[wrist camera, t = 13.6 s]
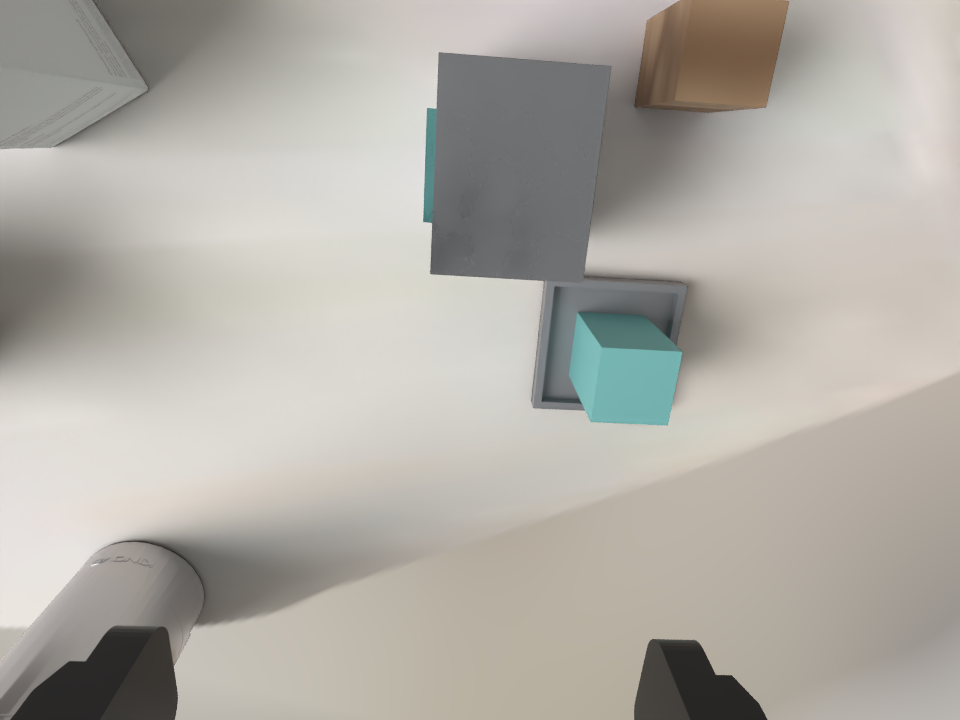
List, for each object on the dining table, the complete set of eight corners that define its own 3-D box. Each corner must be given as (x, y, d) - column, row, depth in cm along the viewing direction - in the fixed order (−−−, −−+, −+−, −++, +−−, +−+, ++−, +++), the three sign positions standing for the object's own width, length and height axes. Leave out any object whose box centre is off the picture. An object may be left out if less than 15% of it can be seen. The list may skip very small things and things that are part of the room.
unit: (552, 243, 37) (589, 283, 27) (429, 235, 37) (419, 273, 27) (569, 87, 34) (618, 66, 24) (435, 77, 34) (426, 51, 24)
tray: (657, 406, 42) (662, 414, 41) (531, 400, 41) (533, 408, 40) (681, 282, 39) (687, 286, 38) (544, 274, 38) (547, 278, 37)
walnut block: (708, 112, 35) (766, 107, 29) (634, 107, 35) (675, 100, 28) (725, 27, 34) (789, 0, 27) (647, 20, 33) (693, -8, 27)
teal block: (633, 378, 40) (667, 425, 34) (568, 375, 40) (590, 421, 34) (644, 315, 39) (682, 351, 32) (577, 311, 39) (601, 347, 32)
